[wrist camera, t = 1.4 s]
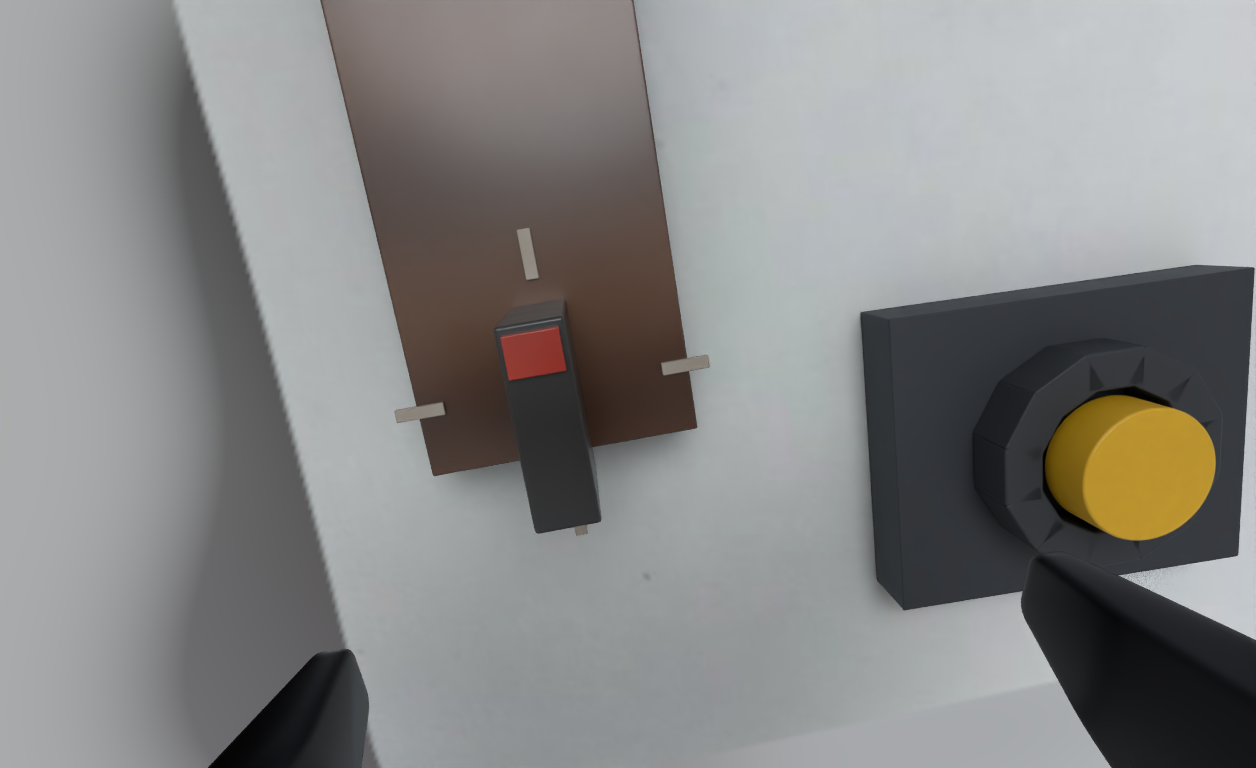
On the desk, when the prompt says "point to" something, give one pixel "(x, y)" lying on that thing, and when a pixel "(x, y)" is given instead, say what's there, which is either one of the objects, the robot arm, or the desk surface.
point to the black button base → (1042, 421)
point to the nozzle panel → (515, 207)
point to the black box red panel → (549, 415)
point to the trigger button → (1130, 466)
